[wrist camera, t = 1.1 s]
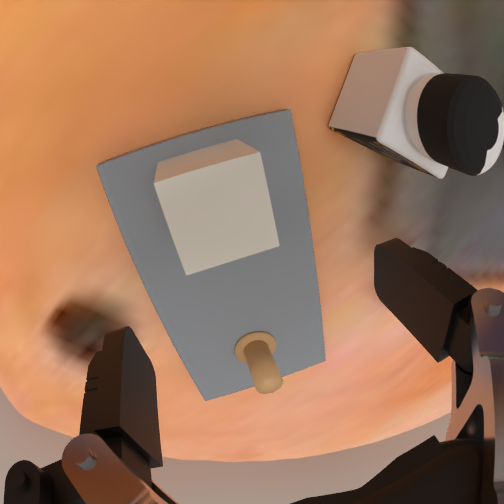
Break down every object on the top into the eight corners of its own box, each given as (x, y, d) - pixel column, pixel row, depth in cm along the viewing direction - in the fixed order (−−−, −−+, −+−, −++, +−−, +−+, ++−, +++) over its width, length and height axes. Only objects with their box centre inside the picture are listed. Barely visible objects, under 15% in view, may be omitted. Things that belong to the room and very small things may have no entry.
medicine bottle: (325, 127, 23) (433, 158, 13) (354, 51, 21) (469, 41, 10) (389, 159, 26) (494, 204, 16) (414, 91, 23) (523, 109, 13)
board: (284, 109, 22) (321, 113, 17) (321, 353, 35) (344, 392, 29) (99, 163, 20) (76, 184, 15) (203, 392, 33) (212, 438, 28)
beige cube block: (236, 138, 21) (260, 151, 16) (254, 211, 24) (279, 246, 19) (157, 162, 20) (153, 183, 15) (181, 234, 23) (186, 275, 18)
